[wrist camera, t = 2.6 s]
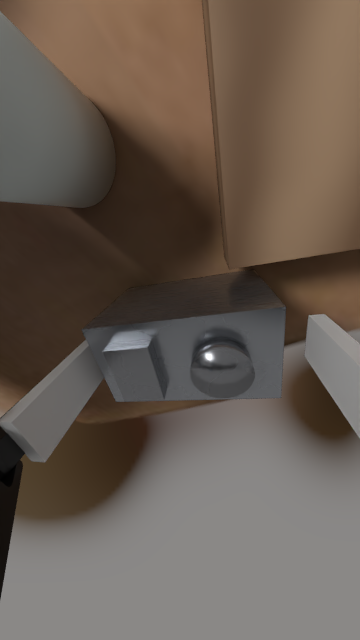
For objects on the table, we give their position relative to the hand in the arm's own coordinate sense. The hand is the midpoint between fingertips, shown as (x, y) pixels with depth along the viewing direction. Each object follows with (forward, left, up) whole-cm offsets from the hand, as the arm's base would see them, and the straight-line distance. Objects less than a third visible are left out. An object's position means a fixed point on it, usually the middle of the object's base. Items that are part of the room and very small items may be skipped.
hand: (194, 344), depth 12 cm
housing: (0, 0, -5) cm, 5 cm away
